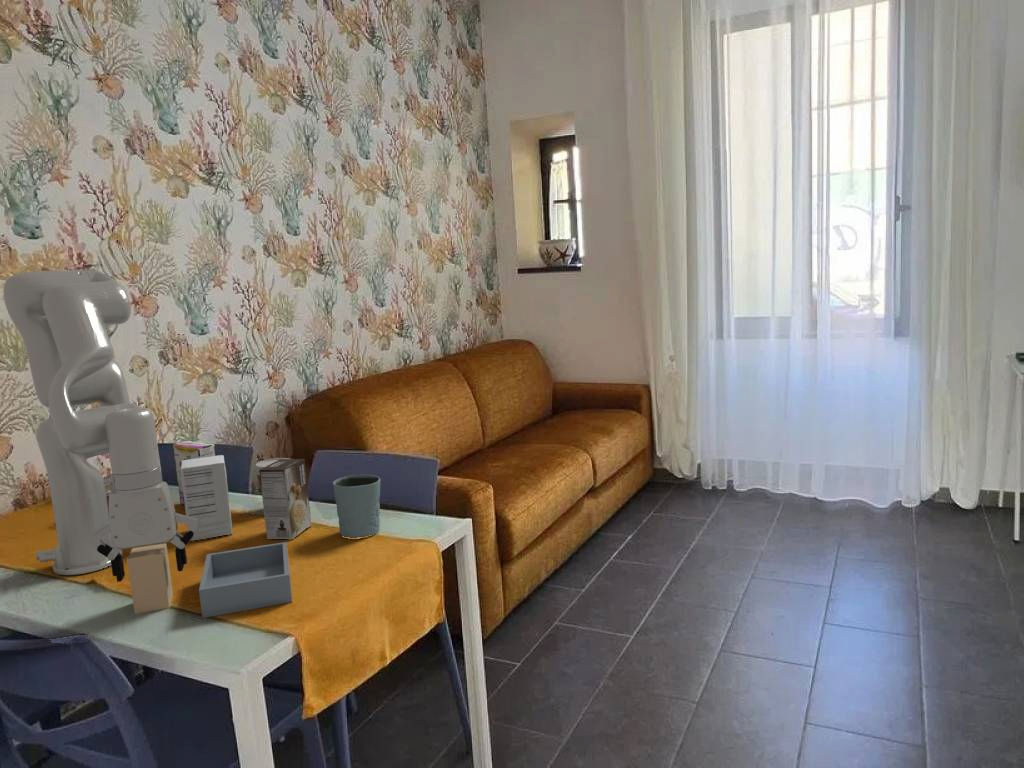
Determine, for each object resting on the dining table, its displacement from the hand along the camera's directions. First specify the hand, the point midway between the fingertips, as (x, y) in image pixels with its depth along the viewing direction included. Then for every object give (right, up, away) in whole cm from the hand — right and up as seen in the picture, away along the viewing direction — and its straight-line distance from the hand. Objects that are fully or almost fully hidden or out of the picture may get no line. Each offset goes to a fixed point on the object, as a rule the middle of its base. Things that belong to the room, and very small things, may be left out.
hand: (151, 573), depth 129 cm
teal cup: (+30, 0, +33) cm, 45 cm away
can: (-36, 0, +55) cm, 66 cm away
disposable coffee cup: (+6, +2, +53) cm, 53 cm away
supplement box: (-5, -1, +38) cm, 39 cm away
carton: (0, -6, +1) cm, 6 cm away
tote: (+15, -4, +5) cm, 17 cm away
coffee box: (+14, 0, +35) cm, 38 cm away
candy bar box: (-17, +2, +60) cm, 62 cm away
